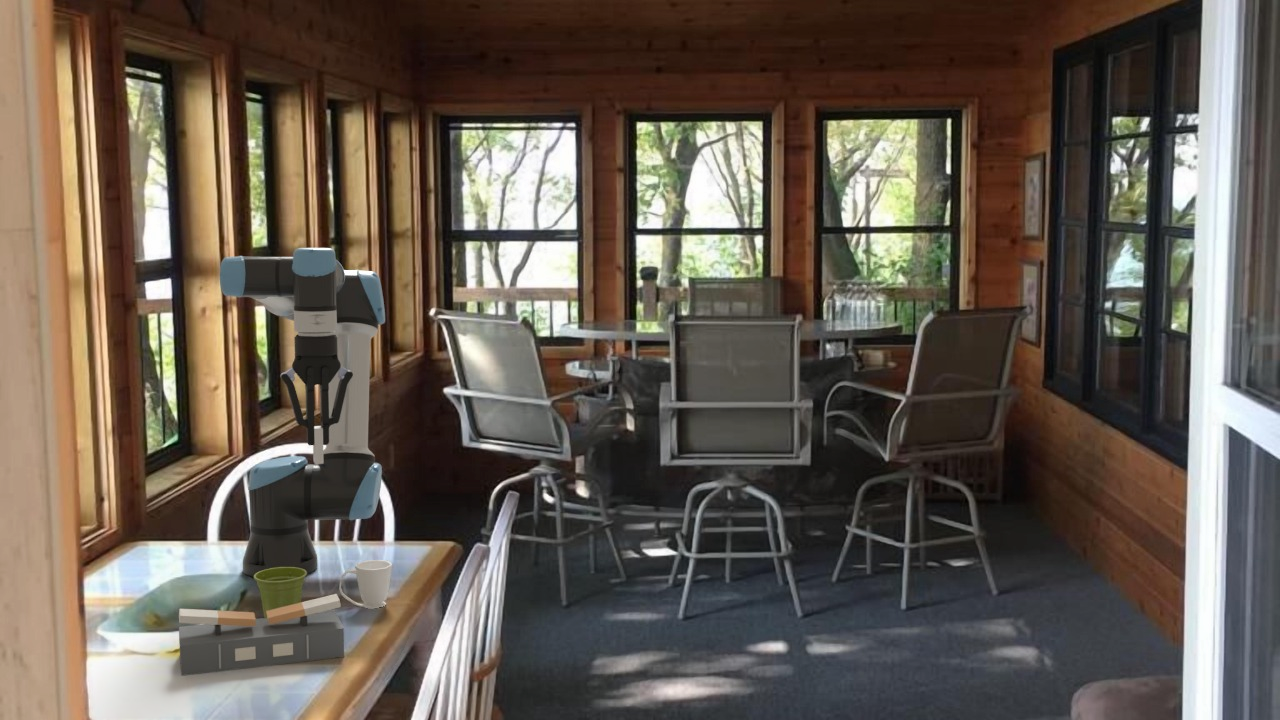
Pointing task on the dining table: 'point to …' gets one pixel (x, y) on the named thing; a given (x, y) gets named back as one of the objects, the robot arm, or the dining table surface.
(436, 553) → the dining table surface
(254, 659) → the switch unit
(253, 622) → the rocker
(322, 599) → the rocker
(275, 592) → the plant pot
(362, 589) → the cup
